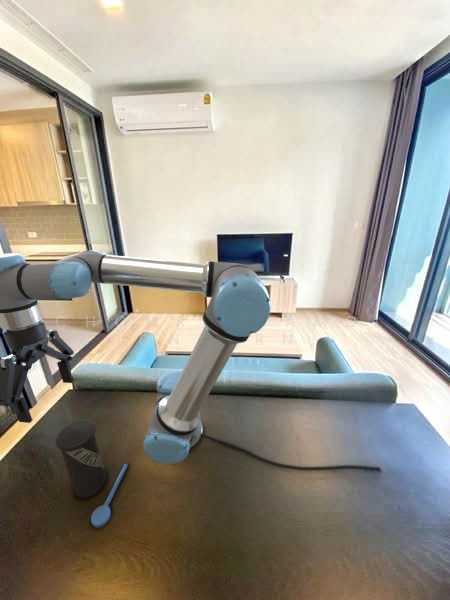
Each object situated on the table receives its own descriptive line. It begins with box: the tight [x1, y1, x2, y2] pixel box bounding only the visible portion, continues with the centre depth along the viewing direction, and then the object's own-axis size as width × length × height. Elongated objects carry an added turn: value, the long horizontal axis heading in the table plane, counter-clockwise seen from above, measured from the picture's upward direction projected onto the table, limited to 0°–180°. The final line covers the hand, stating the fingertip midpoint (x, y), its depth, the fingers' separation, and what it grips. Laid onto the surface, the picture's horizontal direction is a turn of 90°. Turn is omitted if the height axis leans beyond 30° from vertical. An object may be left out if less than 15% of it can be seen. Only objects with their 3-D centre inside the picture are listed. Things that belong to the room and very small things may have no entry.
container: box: [55, 419, 107, 499], centre depth 68 cm, size 9×9×20 cm
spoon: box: [90, 463, 129, 528], centre depth 68 cm, size 16×4×1 cm, turn 173°
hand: (49, 399), depth 63 cm, fingers open, 13 cm apart
